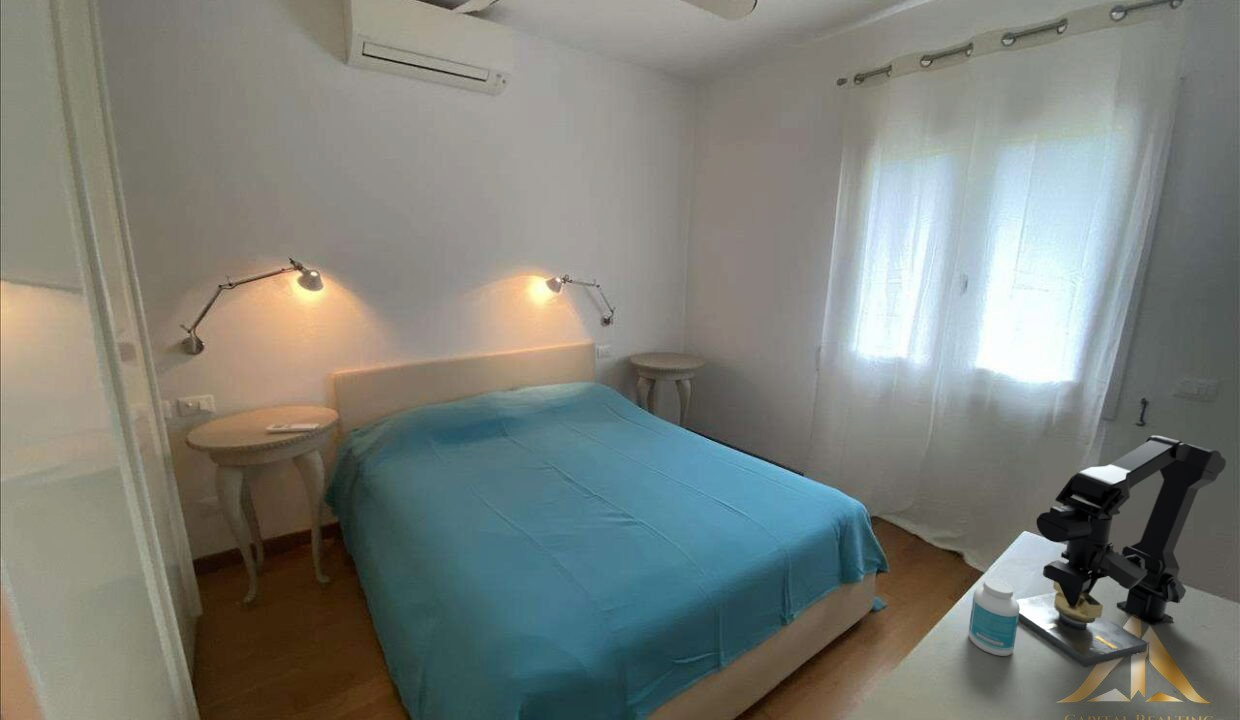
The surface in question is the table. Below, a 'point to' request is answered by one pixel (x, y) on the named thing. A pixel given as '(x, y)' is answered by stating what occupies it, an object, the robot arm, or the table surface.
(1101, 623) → the lock base
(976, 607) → the pill bottle
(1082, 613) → the brass lock knob
